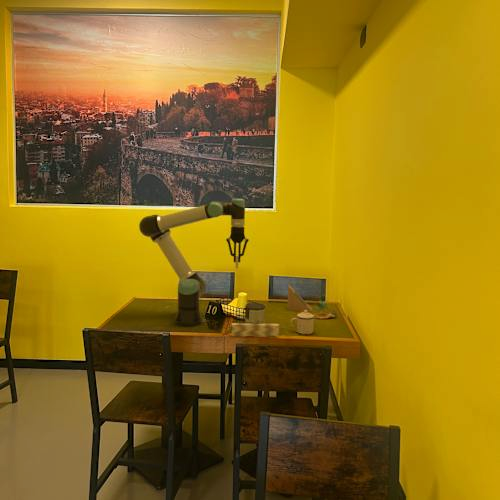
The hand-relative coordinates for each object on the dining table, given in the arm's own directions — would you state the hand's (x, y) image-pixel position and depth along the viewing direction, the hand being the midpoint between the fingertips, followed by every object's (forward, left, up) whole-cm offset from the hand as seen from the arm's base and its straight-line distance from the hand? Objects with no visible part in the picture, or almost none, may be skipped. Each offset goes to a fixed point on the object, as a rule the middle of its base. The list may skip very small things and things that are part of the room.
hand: (236, 268), depth 265 cm
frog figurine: (+52, +5, -30) cm, 60 cm away
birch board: (+10, -31, -29) cm, 44 cm away
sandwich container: (+40, +23, -30) cm, 55 cm away
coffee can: (+10, -24, -30) cm, 39 cm away
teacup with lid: (+35, -23, -30) cm, 51 cm away
